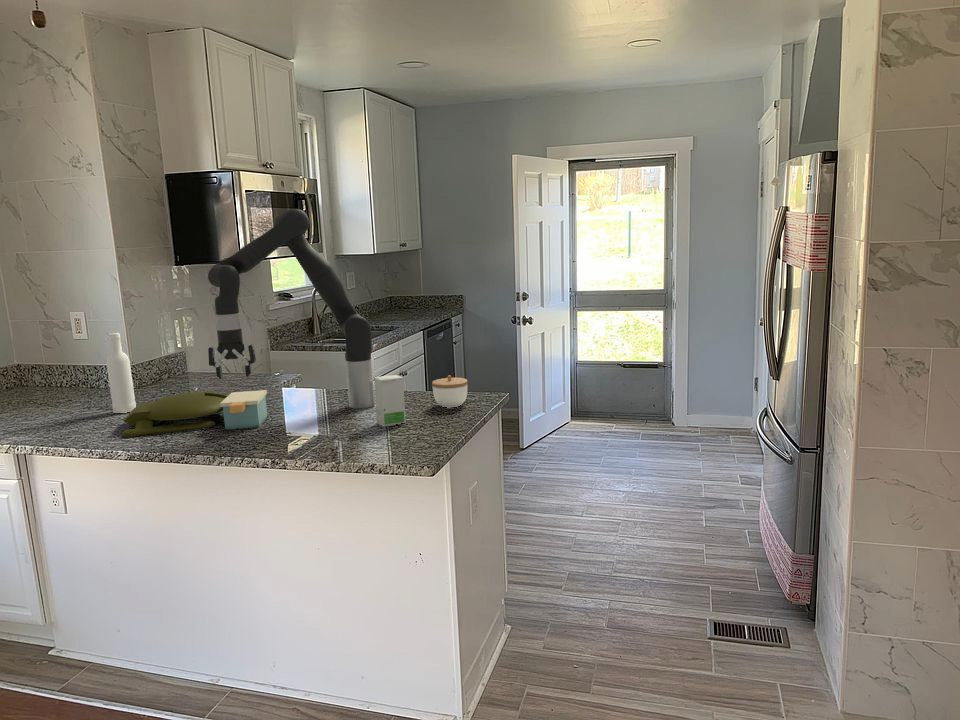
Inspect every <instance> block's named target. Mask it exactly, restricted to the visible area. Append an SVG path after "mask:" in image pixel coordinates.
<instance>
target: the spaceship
mask: <svg viewBox="0 0 960 720" xmlns="http://www.w3.org/2000/svg"><path fill="white" fill-rule="evenodd" d="M227 396H228V395H226V394H223V393H220V392H213V391H190V392H182V393H177V394H173V395H168V396H164V397H161V398H160V399H157V400H151V401H143V402H140V403H139V404H138V405H136V407H135V408H134V409H133V410H132V411H131V412H130V413H128V414H127V416H126V417H125V418H124V419H123V420H122V422H124V423H126V424H128V425H131V426H132V427H135V428H129V429H126V430H124V431H122V433H121V436H122V437H123V438H134V437H135V438H136V437H137V438H138V437H144V436H153V435H161V434H162V433H164V434H172V433H171V432H173V433H180V431H182V432H189V431H188V430H191V431H197V430H196V429H200V430H204V429H203V428H208V429H211V428H210V427H212V428H214V427H215V426H216V422H215V421H212V420H202V421H200V420H199V421H193V422H184V423H175V424H166V425H165V424H164V425H158V424H160V423H161V422H162V421H177V420H178V421H179V420H186V419H187V420H188V419H194V418H200V417H206V416H210V415H214V414H218V413H221V412H223V407H221V406H220V403H221V402H222V401H223V400H224V399H225V398H226V397H227ZM155 425H157V426H155ZM162 435H163V434H162Z"/></svg>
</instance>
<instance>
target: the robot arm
mask: <svg viewBox="0 0 960 720" xmlns="http://www.w3.org/2000/svg"><path fill="white" fill-rule="evenodd" d="M309 227H310V219H309V216H308V214H307V213H306V212H305V211H303V210H302V209H299V208H291V209H288V210H286V211H284V212H282V213H280V214H278V215H277V216H276V218H275V219H274V226H273V227H271V228H270V229H269V230H267V231H266V232H265V233H262V234H261V235H260V236H258V237H256V238H255V239H253V240H251V241H250V242H248V243H247V244H245V245H244V246H243V247H242V248H240V249H239V250H237V251H236V252H235V253H234V254H233V255H231V256H228V257H227V258H225V259H223V260H221V261H219V262H217V263H216V264H214V265H213V266H212V267H211V268H210V269H209V271H208V273H207V280H208V282H209V283H210V284H211V286H214V287H216V288H219V294H218V296H216V297H215V298H214V308H215V309H214V310H215V328H216V335H217V345H218V346H215V347H214V346H209V347H208V348H207V349H208V350H207V351H208V366H209V367H210V366H211V367H214V369H215V374H216V377H217V378H218V379H220V380H221V379H223V377H224V376H223V369H222V366H221V365H222V363H223V362H224V361H225V360H227V361H228V360H237V359H239V360H240V361H241V362H242V363H243V364H244V365H245V366H244V370H245V377H246V378H248V377H250V376H251V375H252V367H251V365H252V364H254V363H256V362H257V357H256V352H255V346H254V344H253V343H251V344H247V345H245V344H244V340H243V330H242V321H241V315H240V310H239V309H240V308H239V301H238V300H239V294H240V288H241V287H240V286H241V285H240V284H241V277H240V275H242V274H245V273H249V271H251V270H253V269H254V268H255V267H257V266H258V265H259V264H260V263H262V262H263V261H264V260H265V259H266V258H268V257H269V256H270V255H271V254H272V253H273V252H275V251H276V250H277V249H279V248H280V247H281V246H283V245H286V246H287V248H288V249H289V250H290V252H291V253H292V254H293V257H295V258H296V260H297V262H298V263H299V265H300V267H301V268H302V270H303V271H304V273H305V275H306V276H307V278H308V279H309V282H310V283H311V285H312V286H313V288H314V289H315V291H316V292H317V294H318V295H319V296H320V298H321V299H322V301H323V302H324V303H325V304H326V305H327V307H328V308H329V310H330V312H332V314H333V316H334V318H335V320H336V322H337V323H338V326H339V329H340V330H341V333H342V334H343V335H344V337H345V339H344V340H345V353H344V358H345V359H344V360H345V371H346V383H347V394H348V406H349V407H348V408H351V409H366V408H372V407H376V399H375V383H374V377H373V364H372V351H373V346H372V343H373V342H372V329H371V325H370V322H369V321H368V319H366V318H365V317H363V316H361V315H360V314H359V313H358V312H357V309H355V307H354V306H353V305H352V303H351V302H350V299H349V298H348V295H347V293H346V291H345V287H344V285H343V283H342V281H341V279H340V277H339V275H338V273H337V272H336V270H335V268H334V266H333V265H332V264H331V262H330V261H329V260H328V259H327V258H326V257H325V256H323V255H322V254H321V253H319V252H318V251H317V250H316V249H315V248H313V246H312V245H311V244H310V243H309V241H308V240H307V238H306V236H305V233H306V232H307V230H308V229H309ZM245 350H246V352H248V354H249V359H248V357H247V356H246V355H245V353H244V351H245ZM217 352H218V353H219V354H220V356H219V358H218V359H217V361H216V360H215V354H217Z"/></svg>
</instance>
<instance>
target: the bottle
mask: <svg viewBox="0 0 960 720" xmlns="http://www.w3.org/2000/svg"><path fill="white" fill-rule="evenodd" d="M108 340H109V345H110V354H108V355H107V358H106V370H107V376H108V383H109V392H110V397H111V403H112V404H111V407H112V411H113V414H114V413H126V414H128V413H127V412H131V411H132V410H133V409H134V408H135V407H137V404H136V398H135V392H134V390H135V389H134V383H133V382H134V381H133V377H132V369H131V361H130V357H128V354H126V353H125V352H124V351H123V348H122V340H121V334H120V332H111V333H109V334H108Z"/></svg>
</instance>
